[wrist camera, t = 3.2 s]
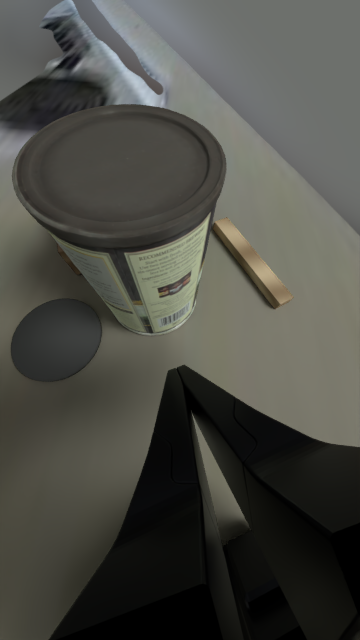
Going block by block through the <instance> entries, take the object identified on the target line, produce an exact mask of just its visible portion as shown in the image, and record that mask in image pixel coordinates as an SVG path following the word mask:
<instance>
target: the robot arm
mask: <svg viewBox="0 0 360 640" xmlns="http://www.w3.org/2000/svg"><path fill="white" fill-rule="evenodd" d="M191 412H192V413H191ZM192 414H193V416H194V418H195V420H196V422H197V424H198V426H199V428H200V430H201V432H202V434H203V436H204V438H205V440H206V442H207V444H208V446H209V448H210V450H211V452H212V454H213V456H214V458H215V460H216V462H217V464H218V466H219V468H220V469H221V471H222V473H223V475H224V477H225V479H226V481H227V483H228V485H229V487H230V489H231V491H232V493H233V495H234V497H235V499H236V501H237V503H238V505H239V507H240V509H241V511H242V513H243V515H244V517H245V519H246V521H247V523H248V525H249V527H250V528H251V531H249V532H247V533H245V534H243V535H241V536H239V537H237V538H235V539H233V540H231V541H229V542H228V544H227V545H225V546H223V547H222V543H221V538H220V534H219V529H218V525H217V521H216V516H215V512H214V508H213V503H212V499H211V495H210V490H209V486H208V481H207V477H206V473H205V468H204V464H203V460H202V455H201V451H200V447H199V442H198V438H197V434H196V429H195V425H194V420H193V416H192ZM49 640H360V447H353V446H345V445H336V444H330V443H326V442H322V441H319V440H316V439H314V438H311V437H309V436H307V435H305V434H303V433H301V432H299V431H297V430H295V429H293V428H291V427H289V426H287V425H285V424H283V423H281V422H279V421H277V420H275V419H273V418H271V417H269V416H267V415H265V414H263V413H261V412H259V411H257V410H255V409H254V408H252V407H250V406H249V405H247V404H245V403H244V402H242V401H241V400H239V399H237V398H236V397H234V396H233V395H231V394H230V393H228V392H226V391H225V390H223V389H222V388H220V387H219V386H217V385H215V384H214V383H212V382H211V381H209V380H208V379H206V378H204V377H203V376H201V375H200V374H198V373H197V372H195V371H194V370H192V369H190V368H189V367H187V366H186V365H182V366H179V367H177V369H176V368H174V369H171V370H169V371H168V373H167V377H166V381H165V385H164V390H163V394H162V398H161V402H160V406H159V410H158V414H157V419H156V423H155V427H154V432H153V435H152V439H151V443H150V447H149V450H148V454H147V457H146V460H145V463H144V466H143V469H142V472H141V475H140V478H139V481H138V483H137V486H136V489H135V492H134V494H133V497H132V500H131V503H130V506H129V508H128V511H127V514H126V517H125V519H124V522H123V525H122V527H121V530H120V532H119V534H118V536H117V538H116V540H115V542H114V544H113V546H112V548H111V549H110V551H109V553H108V554H107V556H106V557H105V559H104V560H103V562H102V563H101V565H100V566H99V567H98V569H97V570H96V572H95V573H94V575H93V576H92V578H91V579H90V580H89V582H88V583H87V585H86V586H85V588H84V589H83V591H82V592H81V594H80V595H79V596H78V598H77V599H76V601H75V602H74V604H73V605H72V607H71V608H70V609H69V611H68V612H67V614H66V615H65V617H64V618H63V620H62V621H61V622H60V624H59V625H58V627H57V628H56V630H55V631H54V633H53V634H52V635H51V637H50V638H49Z"/></svg>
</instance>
